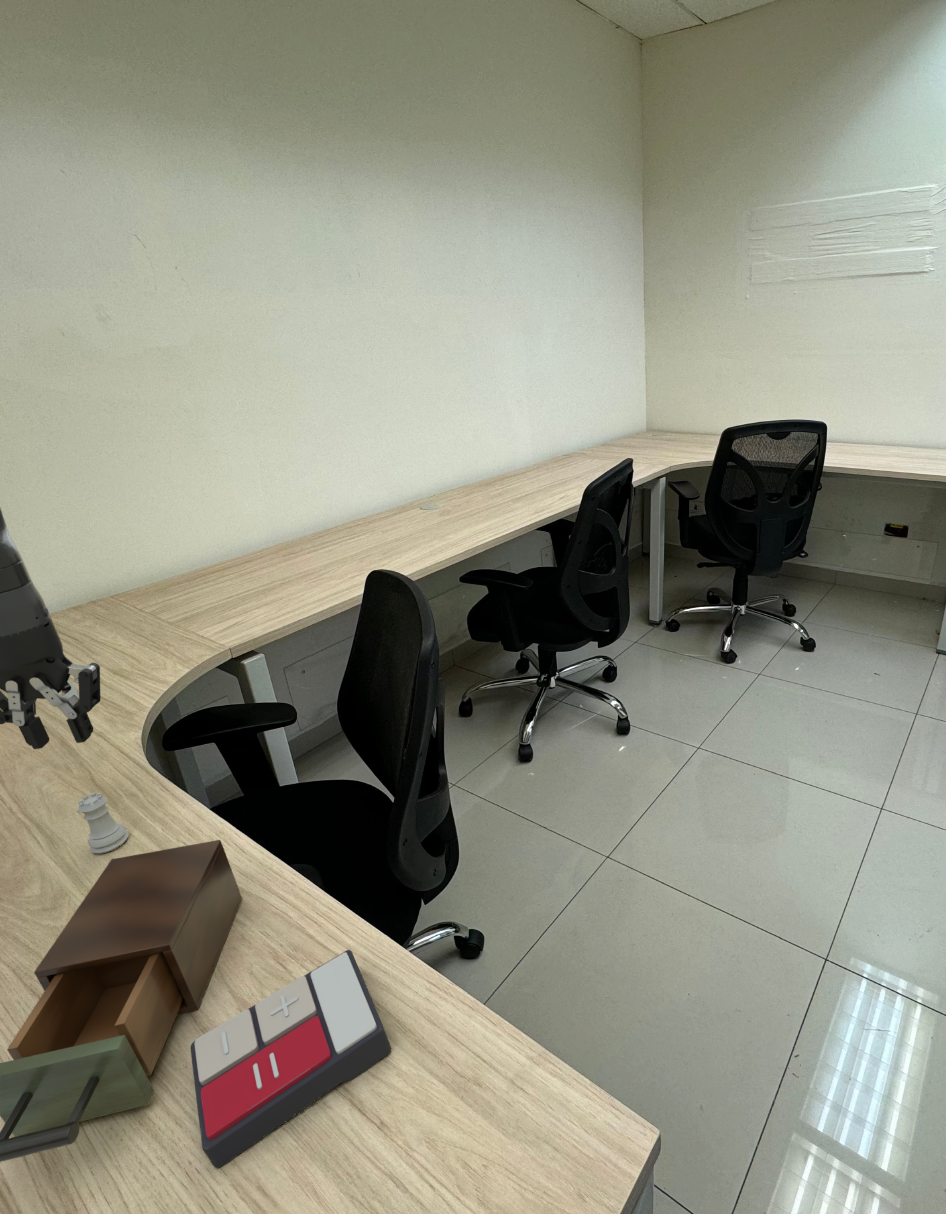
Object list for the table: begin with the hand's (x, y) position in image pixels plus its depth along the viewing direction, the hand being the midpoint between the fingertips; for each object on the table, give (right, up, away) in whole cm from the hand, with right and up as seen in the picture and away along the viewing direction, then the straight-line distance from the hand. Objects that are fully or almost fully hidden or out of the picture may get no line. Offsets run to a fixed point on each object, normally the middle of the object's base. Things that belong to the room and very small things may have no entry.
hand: (63, 741), depth 81 cm
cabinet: (+21, -22, -11) cm, 33 cm away
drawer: (+24, -26, -23) cm, 42 cm away
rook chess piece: (+1, -16, +7) cm, 17 cm away
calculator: (+41, -26, -22) cm, 53 cm away
